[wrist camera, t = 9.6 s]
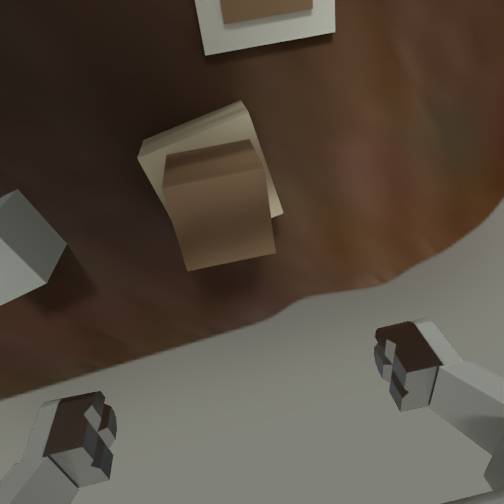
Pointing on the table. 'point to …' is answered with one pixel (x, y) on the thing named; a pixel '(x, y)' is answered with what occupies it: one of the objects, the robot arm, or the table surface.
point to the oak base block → (203, 145)
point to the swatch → (261, 22)
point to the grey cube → (25, 247)
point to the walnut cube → (219, 204)
